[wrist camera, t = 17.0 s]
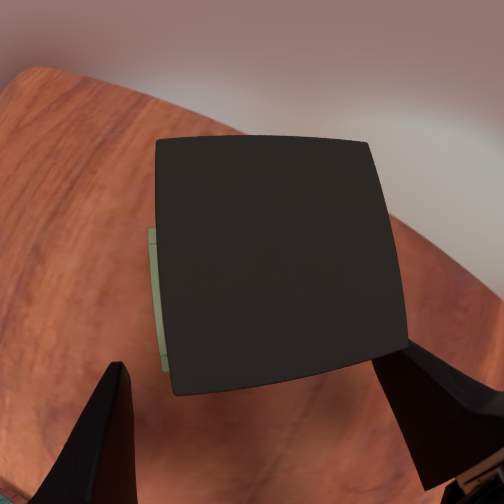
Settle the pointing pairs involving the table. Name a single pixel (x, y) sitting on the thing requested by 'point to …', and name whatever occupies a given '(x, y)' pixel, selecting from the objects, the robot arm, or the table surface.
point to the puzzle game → (10, 497)
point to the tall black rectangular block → (272, 260)
